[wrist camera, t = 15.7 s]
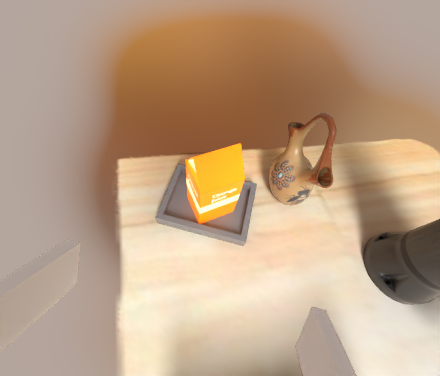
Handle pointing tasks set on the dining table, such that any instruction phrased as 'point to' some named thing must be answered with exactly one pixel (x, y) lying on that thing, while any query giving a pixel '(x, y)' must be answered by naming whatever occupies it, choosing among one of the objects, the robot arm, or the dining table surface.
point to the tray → (216, 228)
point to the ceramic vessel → (301, 165)
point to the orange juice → (215, 182)
